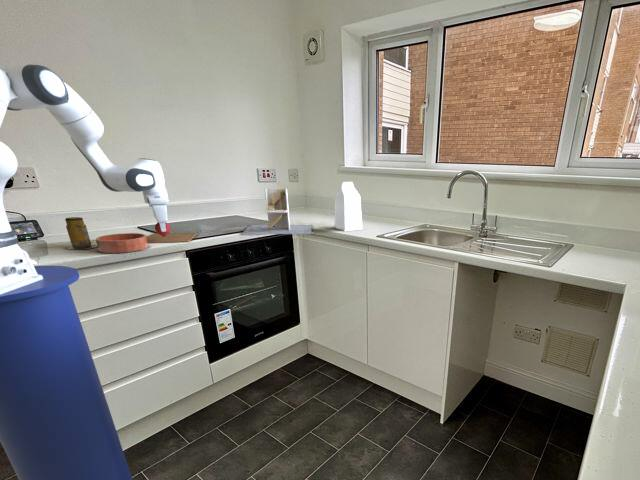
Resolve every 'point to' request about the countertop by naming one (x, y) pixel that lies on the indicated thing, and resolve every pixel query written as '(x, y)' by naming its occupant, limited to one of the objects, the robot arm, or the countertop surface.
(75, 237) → the condiment
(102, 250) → the bowl
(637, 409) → the countertop surface
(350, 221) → the milk
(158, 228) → the onion
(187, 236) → the mat
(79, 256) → the countertop surface
